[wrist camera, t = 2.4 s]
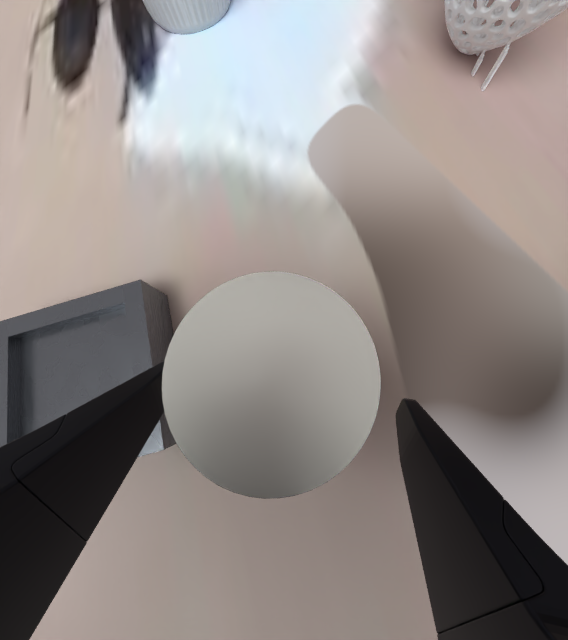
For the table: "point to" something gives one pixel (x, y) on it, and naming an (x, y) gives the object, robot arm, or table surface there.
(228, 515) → the table surface
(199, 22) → the ramekin
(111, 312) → the gray square base
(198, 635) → the table surface
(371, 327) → the table surface
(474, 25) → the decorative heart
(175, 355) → the off-white cylinder
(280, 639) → the table surface
